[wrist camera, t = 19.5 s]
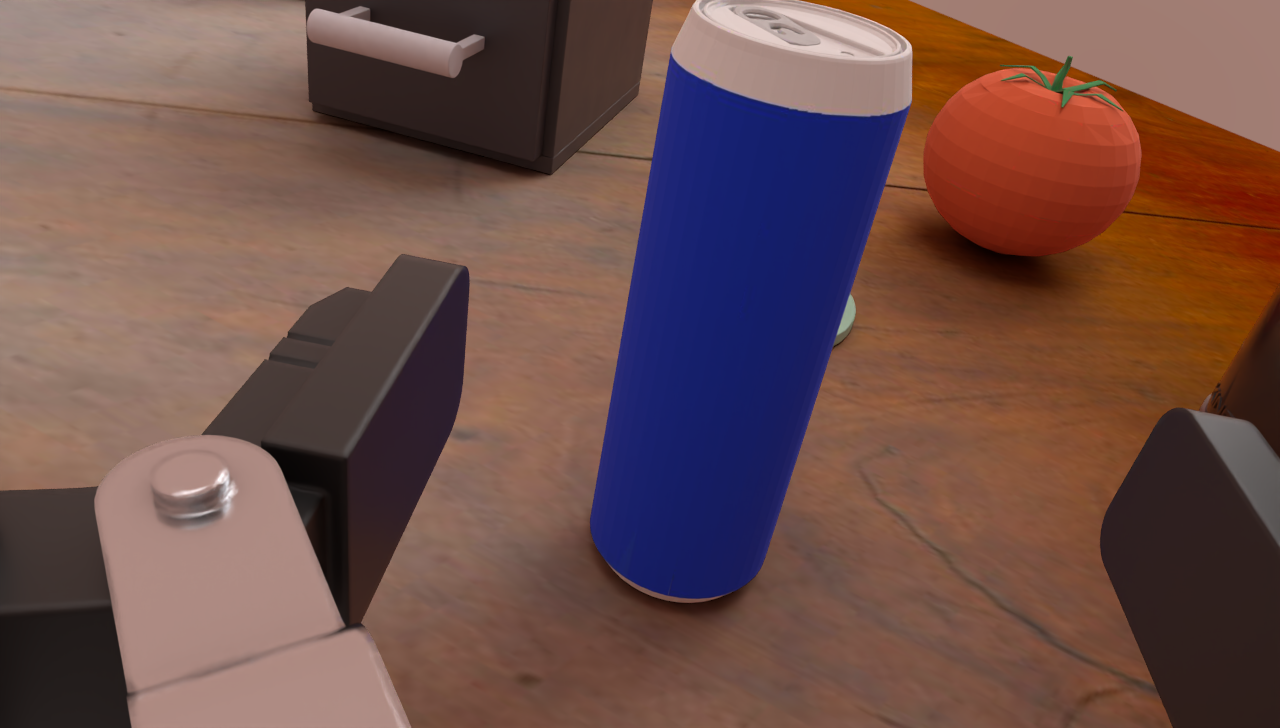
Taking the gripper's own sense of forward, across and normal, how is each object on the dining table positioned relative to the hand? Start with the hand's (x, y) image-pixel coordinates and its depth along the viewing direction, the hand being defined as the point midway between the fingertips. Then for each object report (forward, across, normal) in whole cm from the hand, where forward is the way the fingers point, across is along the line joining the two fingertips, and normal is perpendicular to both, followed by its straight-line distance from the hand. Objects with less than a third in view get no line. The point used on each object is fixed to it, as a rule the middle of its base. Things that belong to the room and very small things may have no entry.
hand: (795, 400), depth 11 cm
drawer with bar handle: (+41, +15, +12) cm, 46 cm away
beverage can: (+11, 0, +14) cm, 18 cm away
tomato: (+38, -15, +13) cm, 43 cm away
